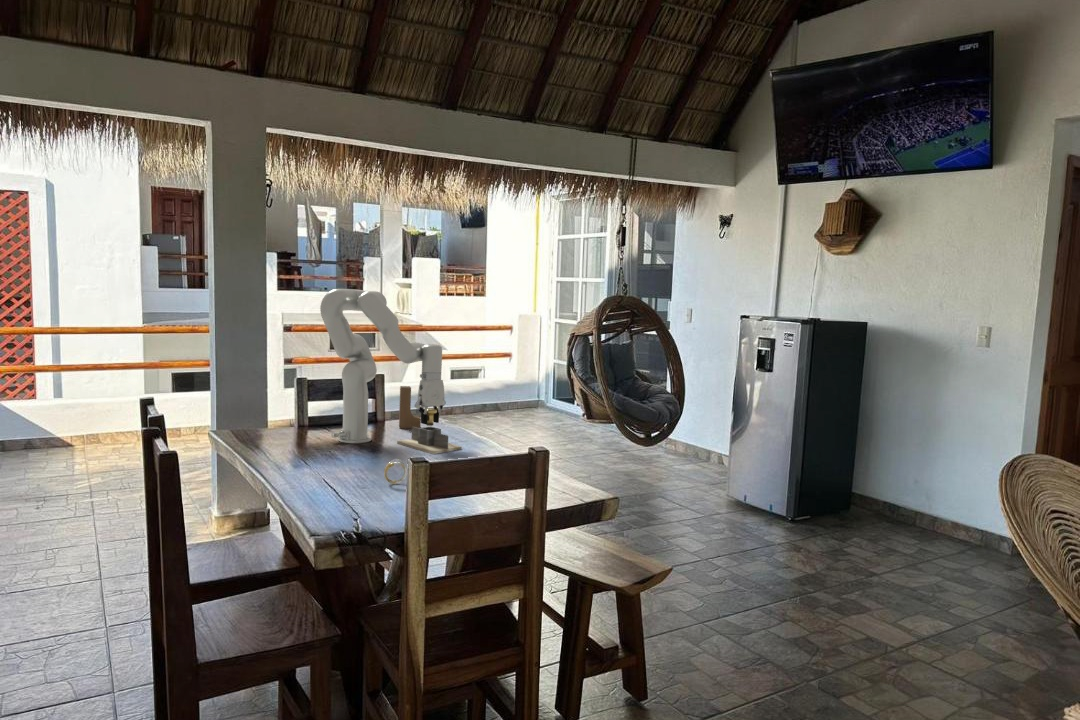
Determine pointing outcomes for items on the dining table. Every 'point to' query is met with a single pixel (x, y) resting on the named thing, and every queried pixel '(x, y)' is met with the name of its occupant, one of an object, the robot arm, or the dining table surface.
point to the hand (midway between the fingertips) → (429, 422)
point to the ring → (391, 466)
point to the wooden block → (407, 410)
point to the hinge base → (429, 441)
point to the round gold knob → (431, 416)
